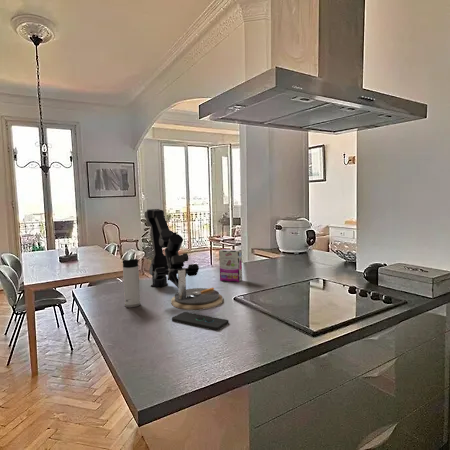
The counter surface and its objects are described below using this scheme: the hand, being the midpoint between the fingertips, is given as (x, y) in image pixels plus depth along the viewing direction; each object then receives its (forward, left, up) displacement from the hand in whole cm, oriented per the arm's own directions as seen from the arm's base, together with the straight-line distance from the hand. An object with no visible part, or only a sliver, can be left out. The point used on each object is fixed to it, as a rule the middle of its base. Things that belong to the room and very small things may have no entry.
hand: (181, 288), depth 145 cm
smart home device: (+17, -14, -8) cm, 23 cm away
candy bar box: (+3, +44, -7) cm, 45 cm away
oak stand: (+4, +7, -7) cm, 10 cm away
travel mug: (-19, -8, -7) cm, 22 cm away
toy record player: (+4, +7, -5) cm, 9 cm away
